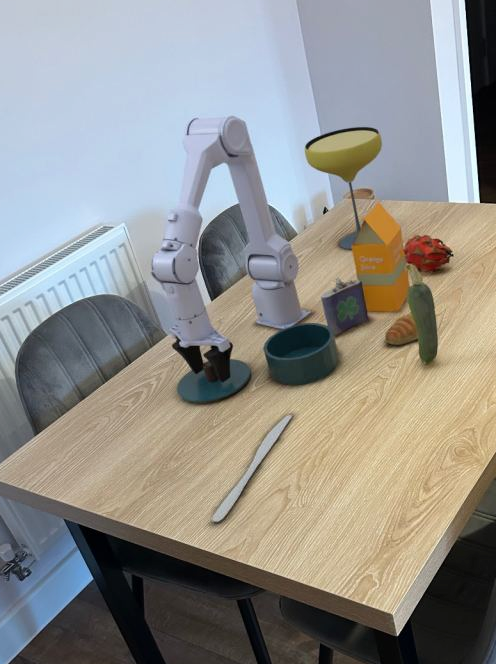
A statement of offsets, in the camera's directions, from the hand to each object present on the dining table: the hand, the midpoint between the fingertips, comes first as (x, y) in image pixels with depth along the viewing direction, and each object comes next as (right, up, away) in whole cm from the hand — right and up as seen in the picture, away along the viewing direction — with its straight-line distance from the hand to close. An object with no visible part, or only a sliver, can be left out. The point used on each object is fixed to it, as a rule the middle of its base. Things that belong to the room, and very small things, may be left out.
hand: (212, 375), depth 144 cm
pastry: (+38, +8, +2) cm, 39 cm away
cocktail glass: (+29, +37, +45) cm, 66 cm away
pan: (+18, +2, 0) cm, 18 cm away
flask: (+26, +10, +9) cm, 30 cm away
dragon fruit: (+44, +25, +24) cm, 57 cm away
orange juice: (+34, +17, +15) cm, 41 cm away
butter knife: (+11, -16, -23) cm, 30 cm away
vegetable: (+41, +1, -8) cm, 42 cm away
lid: (0, -1, +1) cm, 1 cm away
